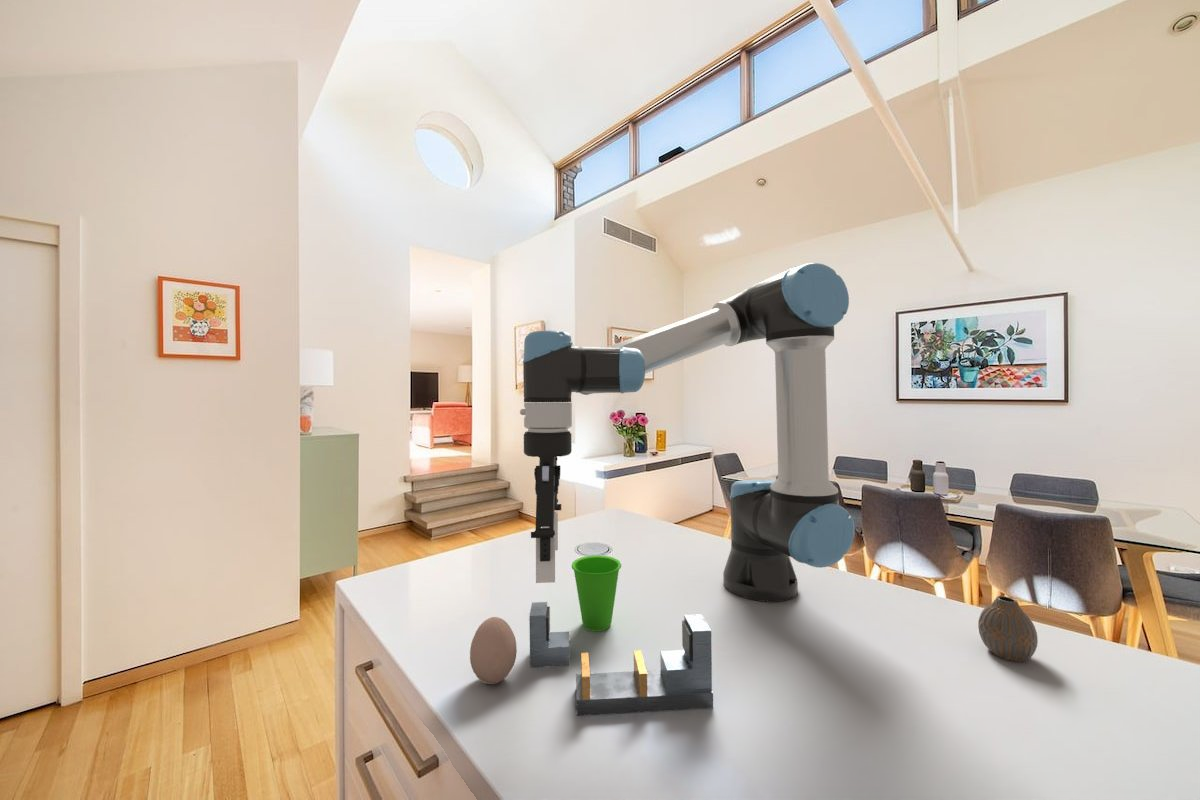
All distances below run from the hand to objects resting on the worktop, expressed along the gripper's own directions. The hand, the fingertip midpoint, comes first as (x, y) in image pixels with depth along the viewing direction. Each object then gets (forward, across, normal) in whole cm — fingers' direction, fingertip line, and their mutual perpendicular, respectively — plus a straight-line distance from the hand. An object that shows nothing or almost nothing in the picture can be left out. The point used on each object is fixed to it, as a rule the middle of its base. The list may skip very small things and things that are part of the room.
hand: (548, 564), depth 71 cm
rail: (+15, +10, +13) cm, 22 cm away
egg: (+15, +5, -8) cm, 18 cm away
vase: (+14, +5, +72) cm, 74 cm away
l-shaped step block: (+15, 0, 0) cm, 15 cm away
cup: (+15, -10, +8) cm, 20 cm away
